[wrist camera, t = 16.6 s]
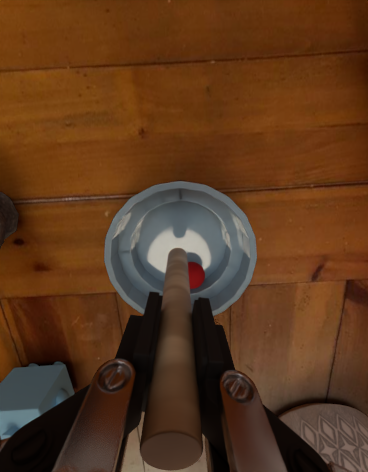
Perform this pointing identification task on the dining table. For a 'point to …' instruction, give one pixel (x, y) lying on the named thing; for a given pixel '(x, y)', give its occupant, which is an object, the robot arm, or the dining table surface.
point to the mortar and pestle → (7, 217)
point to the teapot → (31, 394)
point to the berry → (195, 275)
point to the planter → (332, 432)
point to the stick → (173, 379)
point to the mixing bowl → (180, 243)
